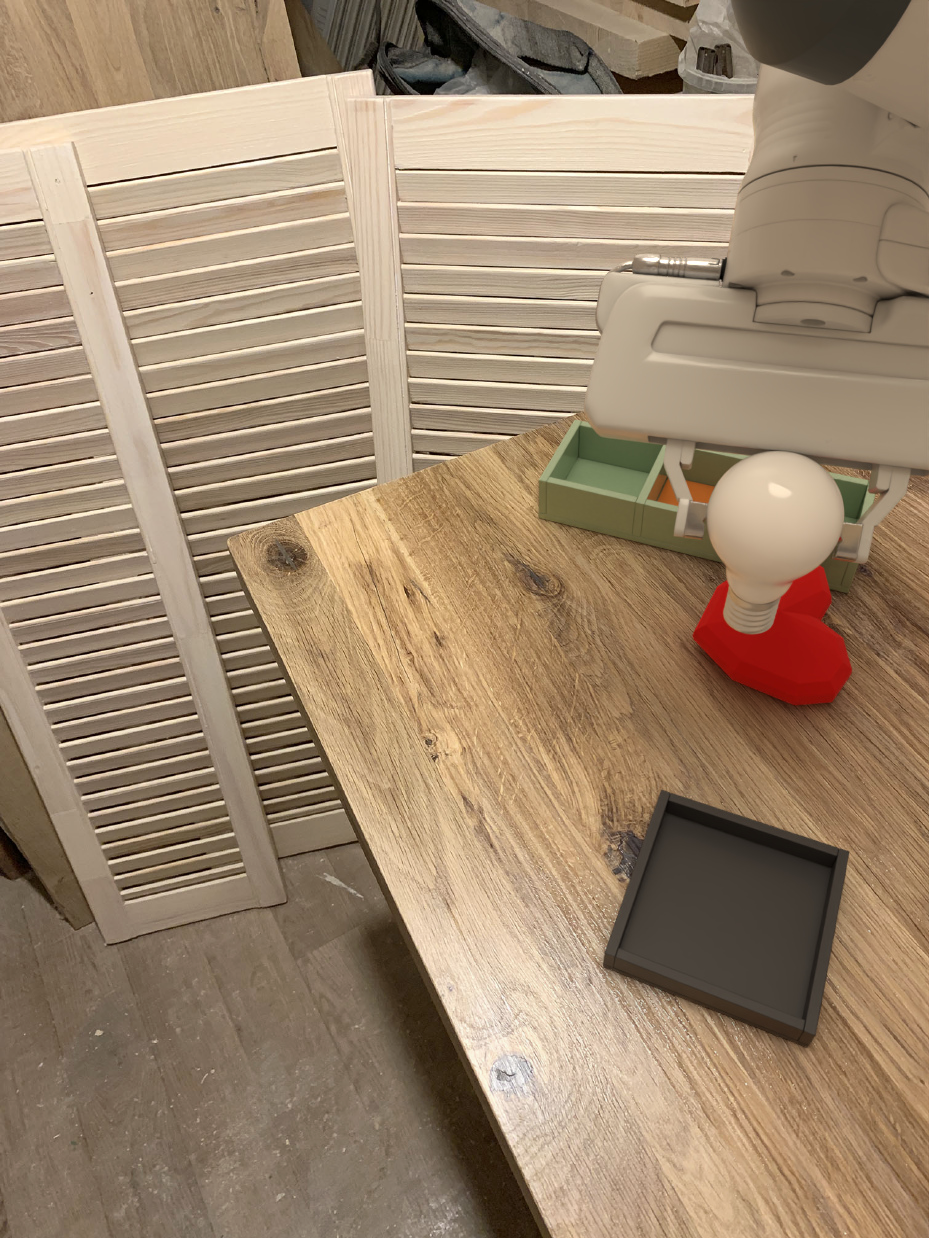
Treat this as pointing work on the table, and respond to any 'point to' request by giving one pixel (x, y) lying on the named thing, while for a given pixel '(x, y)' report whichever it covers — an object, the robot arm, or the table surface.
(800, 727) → the table surface
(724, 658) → the heart
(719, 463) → the green compartment box
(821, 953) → the tray
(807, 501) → the lightbulb
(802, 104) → the robot arm
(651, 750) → the table surface
